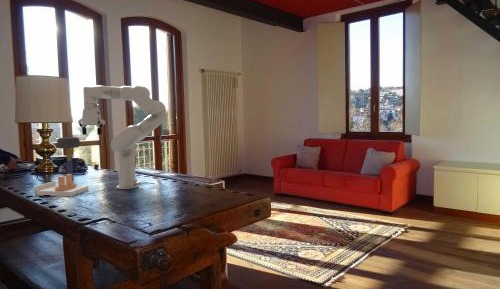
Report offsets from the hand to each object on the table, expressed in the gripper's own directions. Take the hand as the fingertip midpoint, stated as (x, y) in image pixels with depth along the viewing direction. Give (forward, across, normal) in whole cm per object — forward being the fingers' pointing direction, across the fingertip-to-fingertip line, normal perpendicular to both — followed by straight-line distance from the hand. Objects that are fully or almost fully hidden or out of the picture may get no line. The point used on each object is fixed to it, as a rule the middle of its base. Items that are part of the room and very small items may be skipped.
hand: (92, 134), depth 224 cm
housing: (+32, +8, +19) cm, 38 cm away
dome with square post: (+32, +6, +22) cm, 39 cm away
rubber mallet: (+32, +24, -12) cm, 42 cm away
